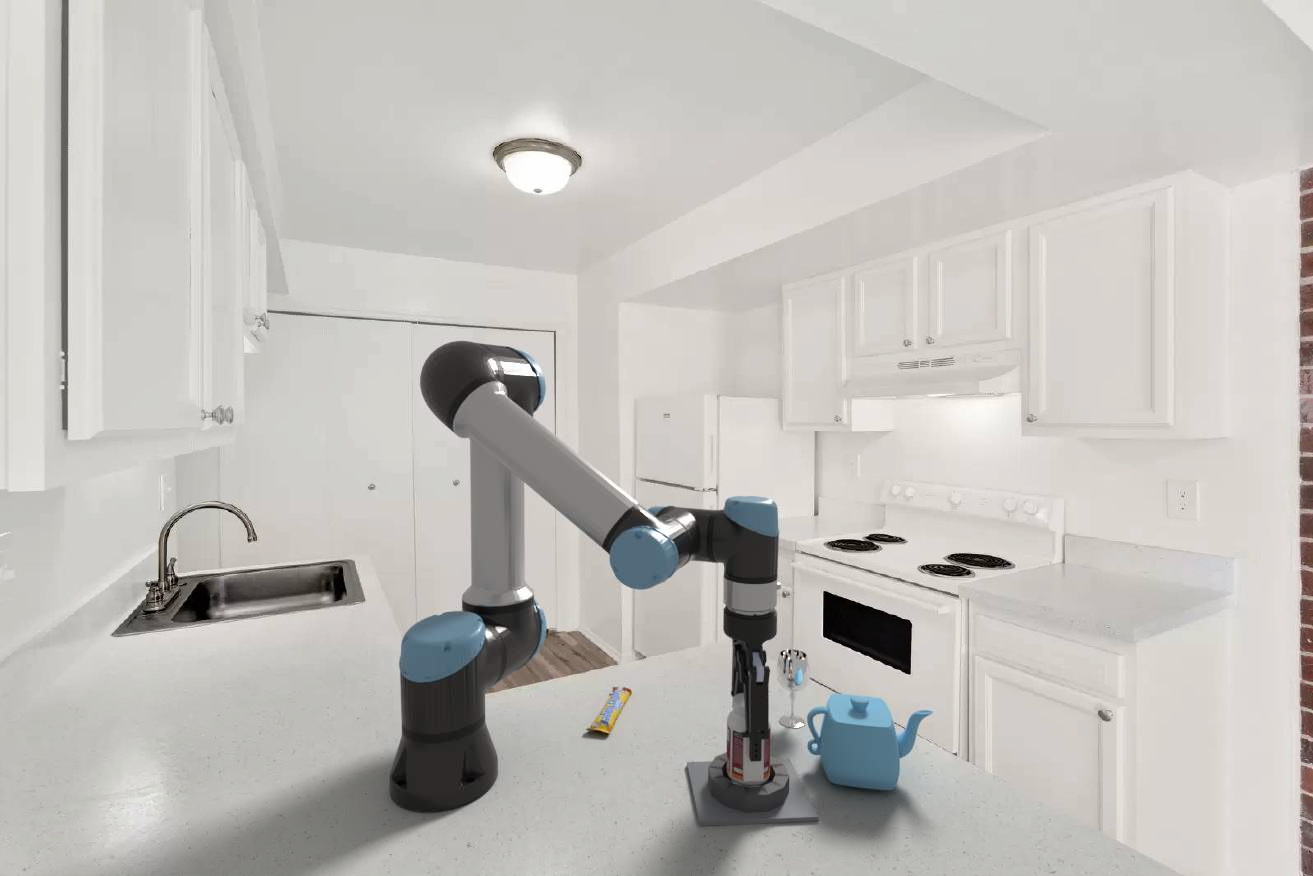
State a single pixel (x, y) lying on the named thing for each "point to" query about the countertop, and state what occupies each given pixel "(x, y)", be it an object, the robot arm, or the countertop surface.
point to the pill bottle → (741, 743)
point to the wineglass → (792, 680)
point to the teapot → (861, 741)
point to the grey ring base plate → (748, 795)
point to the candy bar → (611, 710)
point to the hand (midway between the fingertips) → (747, 765)
